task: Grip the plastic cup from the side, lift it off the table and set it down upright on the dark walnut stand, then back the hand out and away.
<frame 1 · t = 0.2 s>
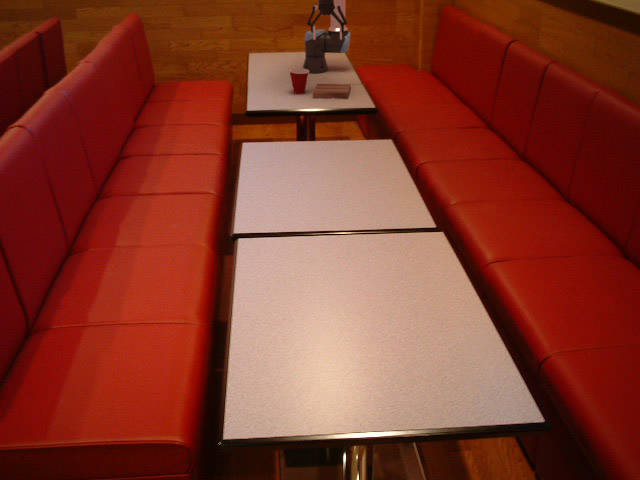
hand: (327, 39, 324), 27 cm above the table, tool pointing down, fingers open, 13 cm apart
plastic cup: (299, 92, 338), on the table
walnut stand: (332, 93, 334), on the table
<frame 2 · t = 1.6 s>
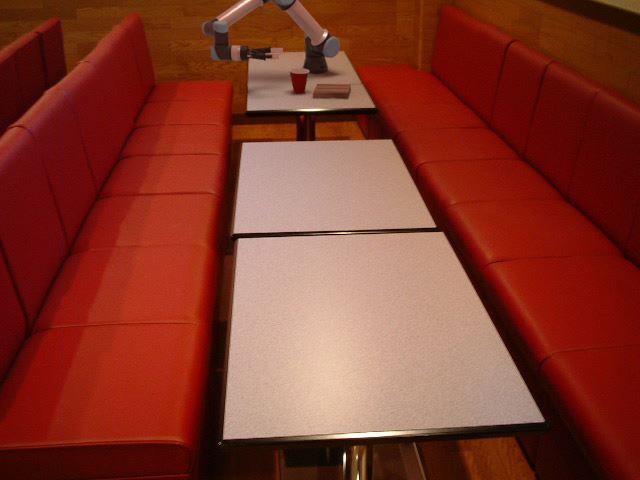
hand: (281, 53, 329), 20 cm above the table, tool horizontal, fingers open, 13 cm apart
nothing on the table moved.
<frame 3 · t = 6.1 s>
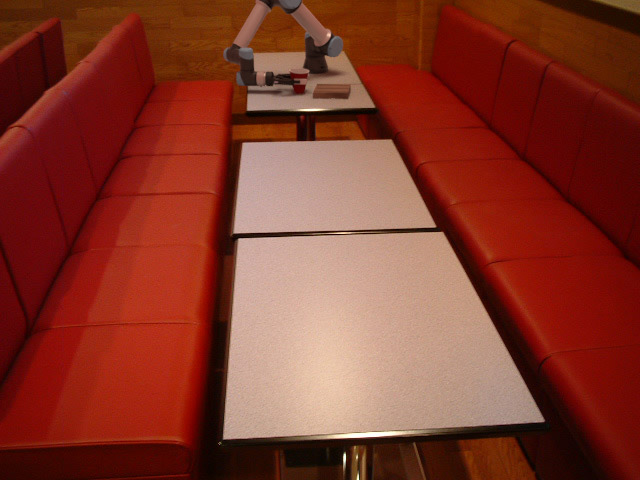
hand: (308, 79, 334), 7 cm above the table, tool horizontal, fingers closed on plastic cup, 9 cm apart
plastic cup: (299, 92, 338), on the table, touching gripper
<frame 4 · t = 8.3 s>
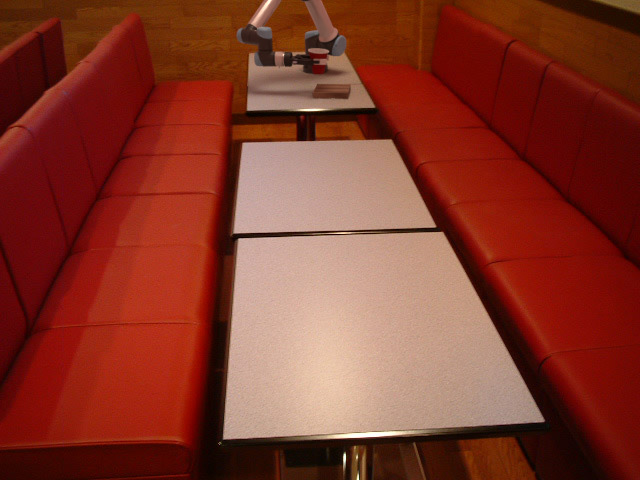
hand: (327, 59, 326), 18 cm above the table, tool horizontal, fingers closed on plastic cup, 9 cm apart
plastic cup: (319, 73, 330), point 11 cm above the table, touching gripper
when the fingers open (11 cm above the table, at t = 10.6 s): plastic cup stays where it is, resting on walnut stand.
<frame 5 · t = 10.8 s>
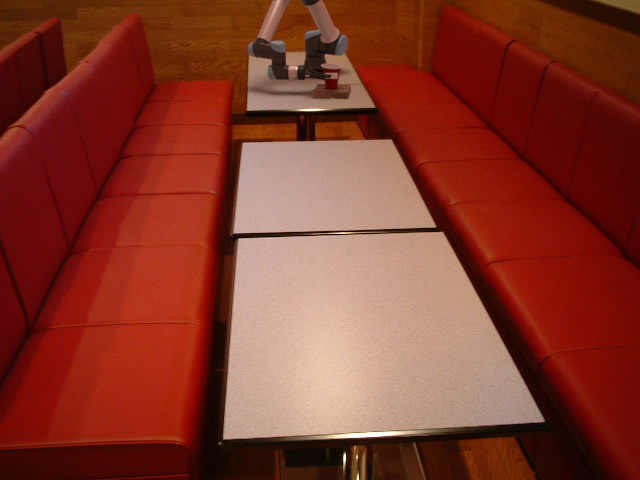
hand: (338, 72, 329), 11 cm above the table, tool horizontal, fingers open, 12 cm apart
plastic cup: (331, 88, 333), point 3 cm above the table, touching walnut stand
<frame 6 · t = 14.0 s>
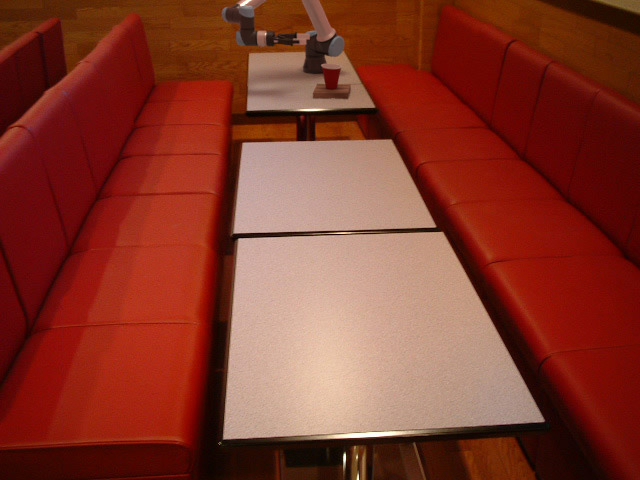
hand: (308, 39, 323), 28 cm above the table, tool horizontal, fingers open, 13 cm apart
nothing on the table moved.
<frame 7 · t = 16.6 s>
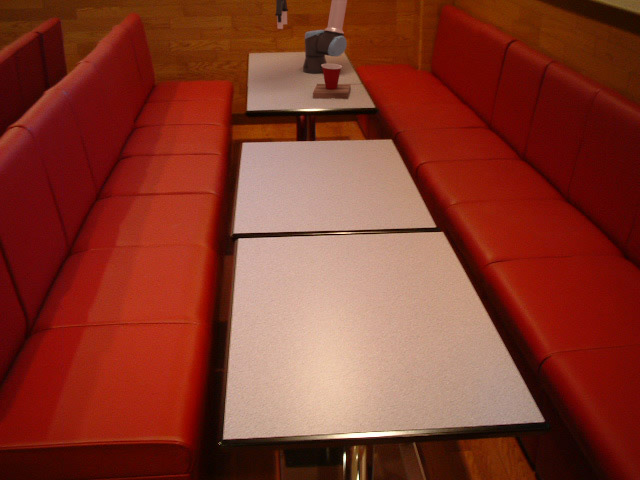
hand: (282, 26, 335), 32 cm above the table, tool pointing down, fingers open, 13 cm apart
nothing on the table moved.
at the end: plastic cup inside the target area on the walnut stand (0.1 cm from its centre), point 2.8 cm above the walnut stand's base; plastic cup tilted 0°; the gripper is holding nothing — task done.
